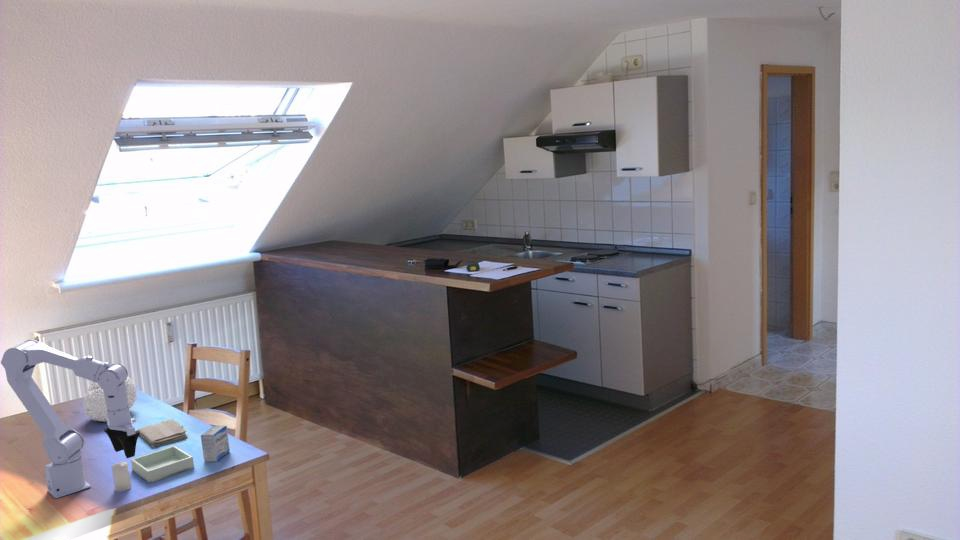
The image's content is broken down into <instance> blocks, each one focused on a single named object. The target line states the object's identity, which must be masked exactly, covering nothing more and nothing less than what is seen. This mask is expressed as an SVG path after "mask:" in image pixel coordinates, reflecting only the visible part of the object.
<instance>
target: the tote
mask: <svg viewBox="0 0 960 540" xmlns="http://www.w3.org/2000/svg"><path fill="white" fill-rule="evenodd" d="M130 463H131V469H132V471H133V472H134V473H135V474H136V475H138V476H139V477H140V478H142V479H143V480H145V481H146V482H147V483H149V484H151V483H154V482H157V481H160V480H163V479H166V478H168V477H171V476H174V475H178V474H180V473H183V472H186V471H189V470H193V469H194V468H195V463H194V457H193V456H192V455H190V454H189V453H187V452H186V451H184V450H182V448H179V447H177V446H176V445H173V446H169V447H167V448H163V449H160V450H156V451H153V452H150V453H148V454H144V455H140V456H137V457H134V458H132V459H130Z"/></svg>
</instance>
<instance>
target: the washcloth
mask: <svg viewBox="0 0 960 540" xmlns="http://www.w3.org/2000/svg"><path fill="white" fill-rule="evenodd" d="M136 431H139V432H140V435H139V436H140V437H141V438H143V440H144V441H145V442H147V443H148V444H149V446H151V447H152V448H155V447H160V446H163V445H168V444H171V443H174V442H178V441H181V440H186V439H188V435H187V434H186V432H187V430H186V429H185V428H184V426H183V425H181V424H180V423H179V422H177V421H175V419H173V418H172V419H167V420H164V421H160V422H159V423H156V424H151V425H147V426H143V427H139V428H138V429H137V430H136Z"/></svg>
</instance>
